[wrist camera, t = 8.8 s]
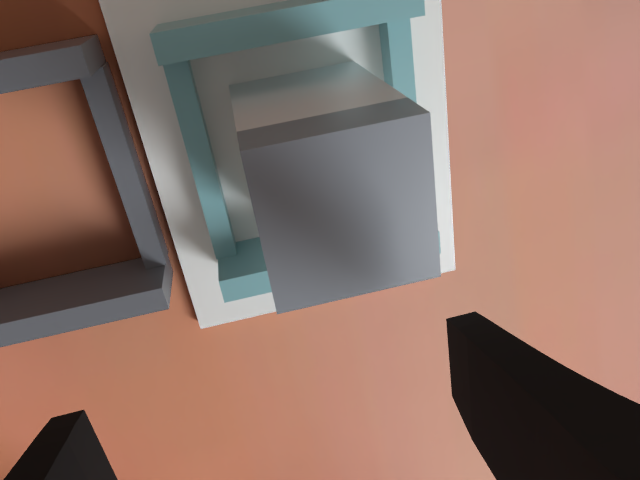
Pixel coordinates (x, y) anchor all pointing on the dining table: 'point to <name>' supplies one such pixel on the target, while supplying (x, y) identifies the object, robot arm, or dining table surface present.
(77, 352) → the dining table surface
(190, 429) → the dining table surface
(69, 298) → the grey arch stand
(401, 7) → the port
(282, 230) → the plug
